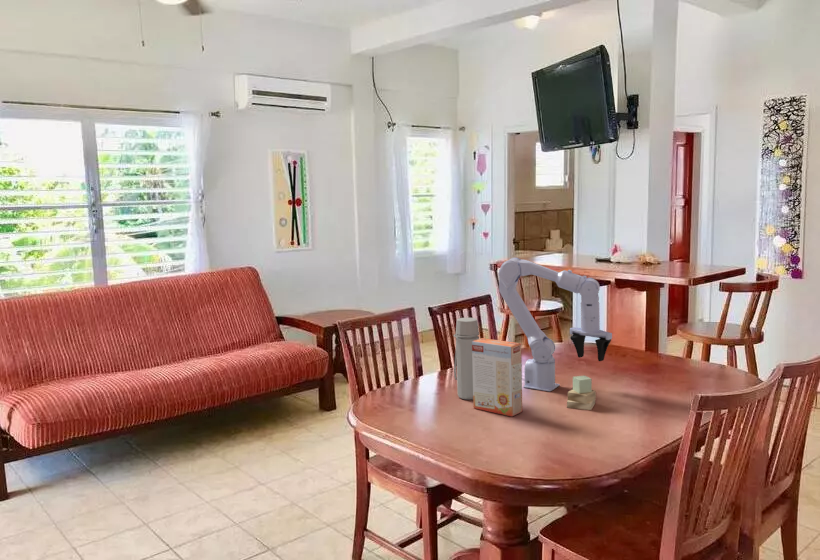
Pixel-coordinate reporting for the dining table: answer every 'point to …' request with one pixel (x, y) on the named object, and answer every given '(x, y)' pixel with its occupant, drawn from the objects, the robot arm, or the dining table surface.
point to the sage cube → (582, 384)
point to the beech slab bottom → (580, 405)
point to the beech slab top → (581, 396)
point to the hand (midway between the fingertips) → (590, 358)
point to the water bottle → (465, 355)
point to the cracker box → (497, 376)
